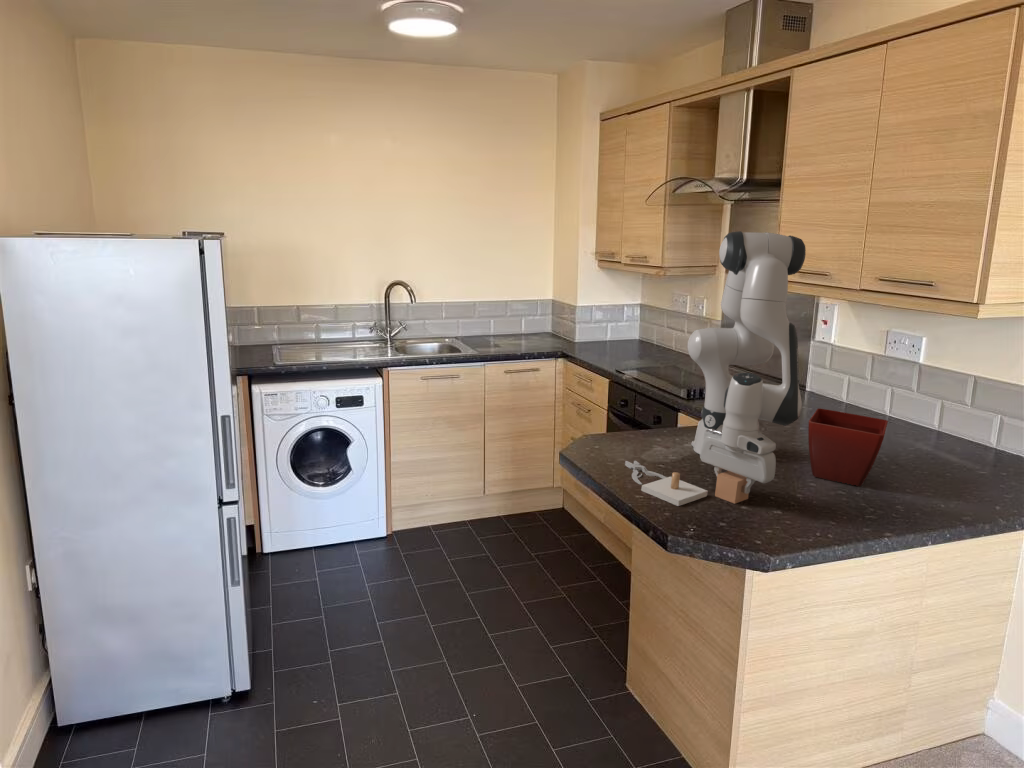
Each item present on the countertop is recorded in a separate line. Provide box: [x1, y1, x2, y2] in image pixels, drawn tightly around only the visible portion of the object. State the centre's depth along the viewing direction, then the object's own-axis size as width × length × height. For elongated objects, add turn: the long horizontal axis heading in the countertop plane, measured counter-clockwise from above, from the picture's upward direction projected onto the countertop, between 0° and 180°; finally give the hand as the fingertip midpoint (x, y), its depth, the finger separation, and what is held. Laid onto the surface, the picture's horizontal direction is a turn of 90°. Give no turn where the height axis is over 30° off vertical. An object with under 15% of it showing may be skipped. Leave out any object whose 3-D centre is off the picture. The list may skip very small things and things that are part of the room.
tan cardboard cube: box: [714, 470, 750, 504], centre depth 184 cm, size 6×6×6 cm
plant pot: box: [807, 408, 889, 487], centre depth 202 cm, size 19×19×17 cm
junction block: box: [640, 471, 708, 507], centre depth 184 cm, size 12×12×6 cm
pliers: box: [624, 460, 667, 486], centre depth 198 cm, size 10×2×15 cm
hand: (732, 487), depth 184 cm, fingers closed on tan cardboard cube, 6 cm apart
